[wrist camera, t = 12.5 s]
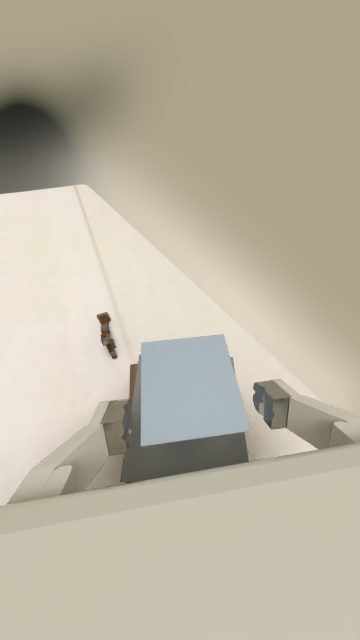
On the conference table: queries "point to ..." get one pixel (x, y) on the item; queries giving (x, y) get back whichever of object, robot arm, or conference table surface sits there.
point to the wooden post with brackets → (106, 333)
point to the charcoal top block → (177, 450)
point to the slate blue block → (189, 391)
